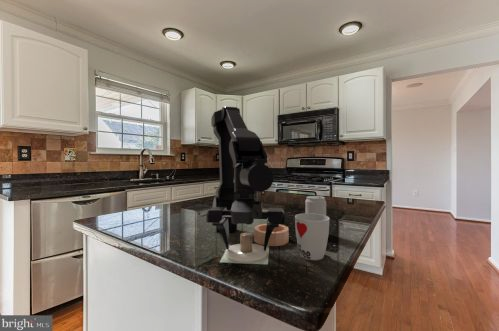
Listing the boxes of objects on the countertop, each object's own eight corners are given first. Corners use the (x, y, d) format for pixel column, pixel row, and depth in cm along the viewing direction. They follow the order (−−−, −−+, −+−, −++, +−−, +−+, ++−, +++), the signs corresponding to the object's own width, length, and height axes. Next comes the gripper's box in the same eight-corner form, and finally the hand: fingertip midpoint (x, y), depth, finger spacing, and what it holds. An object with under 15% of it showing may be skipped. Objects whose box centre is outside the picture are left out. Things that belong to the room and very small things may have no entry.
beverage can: (327, 238, 73) (327, 198, 73) (305, 236, 75) (305, 198, 74) (325, 231, 79) (325, 195, 79) (305, 230, 81) (305, 195, 80)
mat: (219, 264, 55) (219, 262, 55) (228, 247, 66) (228, 245, 66) (267, 266, 54) (267, 264, 54) (269, 248, 65) (269, 246, 65)
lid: (221, 261, 55) (220, 240, 55) (229, 245, 65) (229, 228, 65) (266, 263, 54) (266, 242, 54) (267, 246, 64) (267, 229, 64)
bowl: (253, 247, 66) (252, 232, 66) (255, 236, 75) (255, 223, 75) (289, 248, 65) (289, 233, 65) (287, 236, 74) (287, 224, 74)
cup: (291, 252, 62) (291, 213, 62) (321, 250, 63) (321, 212, 63) (300, 265, 54) (300, 221, 54) (335, 264, 55) (335, 220, 55)
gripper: (198, 190, 52) (199, 261, 53) (285, 191, 50) (285, 265, 51) (212, 185, 63) (212, 244, 64) (283, 185, 61) (283, 246, 62)
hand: (246, 249), depth 60 cm, fingers open, 9 cm apart
